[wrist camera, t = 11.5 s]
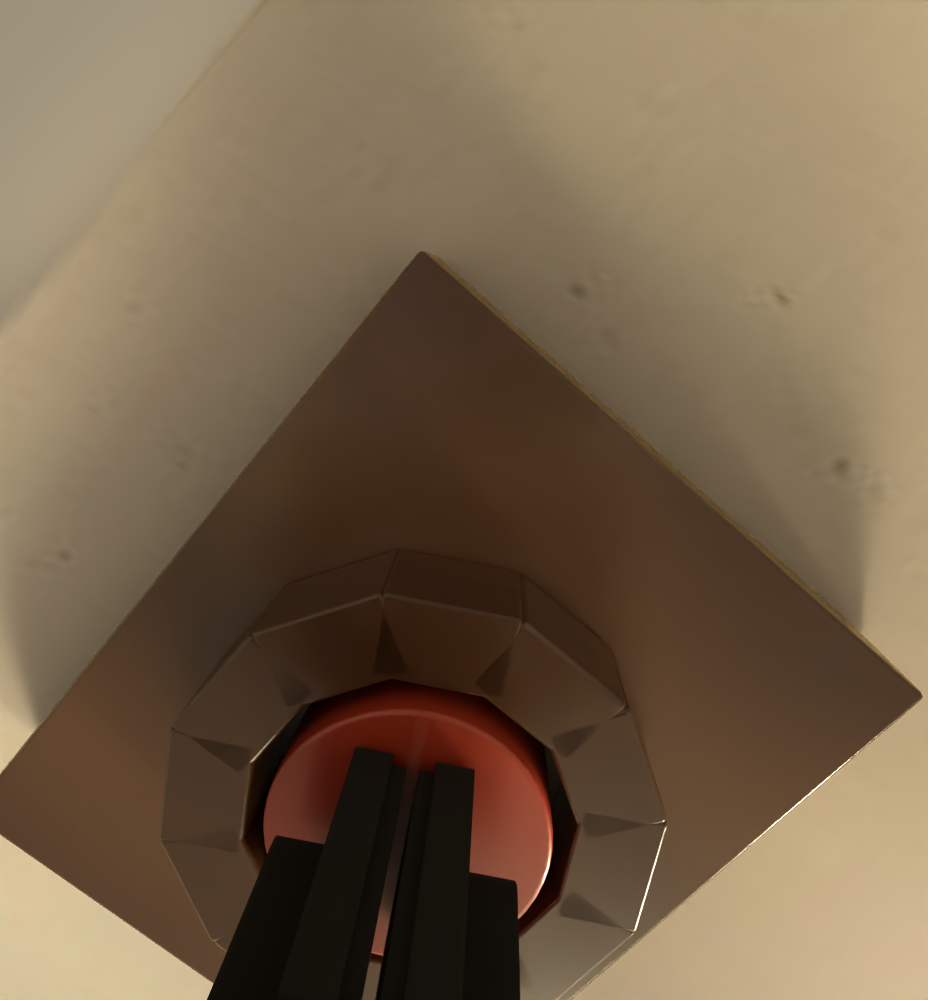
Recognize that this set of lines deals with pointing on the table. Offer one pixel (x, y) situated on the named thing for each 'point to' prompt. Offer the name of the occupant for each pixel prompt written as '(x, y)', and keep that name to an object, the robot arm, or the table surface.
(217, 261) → the table surface
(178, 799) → the button block
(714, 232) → the table surface
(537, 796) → the button
